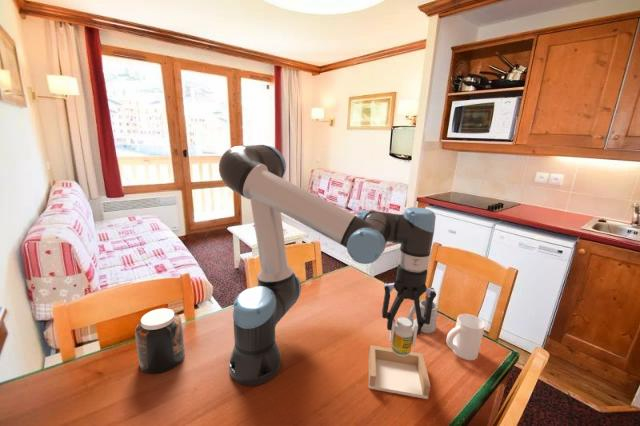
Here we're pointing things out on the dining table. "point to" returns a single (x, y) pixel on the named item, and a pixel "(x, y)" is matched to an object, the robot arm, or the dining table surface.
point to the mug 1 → (426, 328)
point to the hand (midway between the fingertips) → (401, 340)
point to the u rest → (398, 372)
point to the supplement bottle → (402, 337)
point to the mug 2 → (466, 336)
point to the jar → (159, 341)
